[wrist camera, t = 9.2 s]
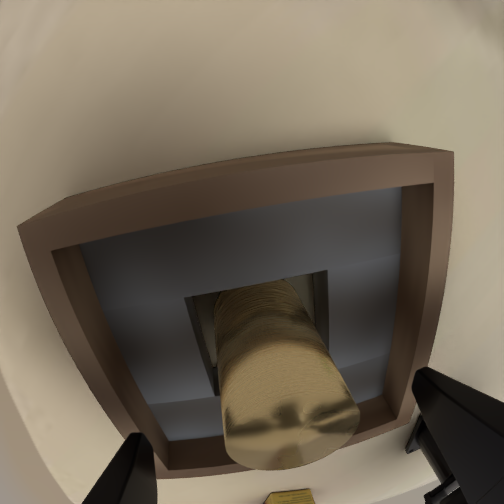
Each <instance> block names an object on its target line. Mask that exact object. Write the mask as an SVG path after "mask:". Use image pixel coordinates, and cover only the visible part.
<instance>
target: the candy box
mask: <svg viewBox="0 0 504 504" xmlns="http://www.w3.org/2000/svg"><path fill="white" fill-rule="evenodd" d="M264 504H315V502H314V500H313V497H312V494H311V491H310V489H304V490H296V491H286V492H275V493H271V494H270V496H269V497H268V498H267V500H266V501H265V503H264Z"/></svg>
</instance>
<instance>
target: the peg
mask: <svg viewBox="0 0 504 504" xmlns="http://www.w3.org/2000/svg"><path fill="white" fill-rule="evenodd" d="M214 327H215V341H216V354H217V367H218V378H219V390H220V400H221V411H222V421H223V430H224V440H225V448H226V451H227V453H228V455H229V456H230V457H231V458H232V459H233V460H234V461H235V462H237V463H239V464H240V465H243V466H245V467H248V468H252V469H258V470H285V469H291V468H296V467H300V466H304V465H307V464H310V463H313V462H315V461H317V460H320V459H322V458H324V457H326V456H328V455H329V454H331V453H333V452H334V451H336V450H337V449H339V448H340V447H341V446H342V445H343V444H345V443H346V442H347V441H348V440H349V439H350V437H351V436H352V435H353V434H354V432H355V431H356V429H357V427H358V425H359V421H360V411H359V409H358V407H357V405H356V403H355V401H354V399H353V397H352V395H351V393H350V391H349V389H348V388H347V386H346V384H345V382H344V380H343V378H342V376H341V374H340V372H339V371H338V369H337V367H336V365H335V363H334V361H333V359H332V357H331V356H330V354H329V352H328V350H327V348H326V346H325V344H324V342H323V341H322V339H321V337H320V335H319V333H318V331H317V329H316V328H315V326H314V324H313V322H312V320H311V318H310V317H309V315H308V313H307V311H306V309H305V307H304V306H303V304H302V302H301V300H300V298H299V296H298V295H297V293H296V291H295V290H294V288H293V287H292V286H291V285H290V284H289V283H288V282H286V281H285V280H283V279H280V280H275V281H270V282H265V283H260V284H255V285H249V286H244V287H239V288H234V289H229V290H223V291H222V292H221V294H220V295H219V297H218V299H217V301H216V304H215V307H214Z"/></svg>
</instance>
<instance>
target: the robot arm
mask: <svg viewBox="0 0 504 504" xmlns="http://www.w3.org/2000/svg"><path fill="white" fill-rule="evenodd" d="M411 389H412V393H413V395H414V397H415V400H416V402H417V404H418V407H419V409H420V411H421V414H422V415H421V416H420V417H419V419H418V422H417V424H416V427H415V429H414V431H413V434H412V436H411V438H410V441H409V443H408V445H407V447H406V450H405V451H406V453H407V454H409V453H412V452H414V451H416V450H418V449H421V450H422V452H423V454H424V455H425V457H426V459H427V460H428V462H429V464H430V465H431V467H432V469H433V470H434V472H435V474H436V475H437V477H438V479H439V480H440V482H441V485H439V486H438V487H436V488H435V489H434V490H432V491H431V492H428V493H426V494H425V495H424V498H425V501H426V502H425V504H504V402H501V401H499V400H497V399H495V398H493V397H491V396H488V395H486V394H484V393H482V392H480V391H478V390H476V389H473V388H471V387H469V386H467V385H465V384H463V383H461V382H459V381H457V380H454V379H452V378H450V377H448V376H446V375H444V374H442V373H440V372H438V371H436V370H434V369H432V368H429V367H423V368H420V369H418V370H416V372H415V375H414V378H413V382H412V386H411ZM459 486H460V487H459ZM457 487H459V488H457ZM456 488H457V489H456ZM455 489H456V490H455ZM453 490H454V491H453ZM452 491H453V492H452ZM450 492H452V493H450ZM449 493H450V494H449ZM448 494H449V495H448ZM82 504H157V481H156V471H155V460H154V450H153V447H152V445H151V443H150V442H149V440H148V439H147V437H146V436H145V434H144V433H142V432H133V433H130V434H129V435H128V437H127V438H126V440H125V441H124V443H123V444H122V445H121V447H120V448H119V450H118V451H117V453H116V454H115V456H114V457H113V459H112V460H111V462H110V463H109V464H108V466H107V467H106V469H105V470H104V472H103V473H102V475H101V476H100V478H99V479H98V480H97V482H96V483H95V485H94V486H93V488H92V489H91V491H90V492H89V494H88V495H87V497H86V498H85V499H84V501H83V502H82Z"/></svg>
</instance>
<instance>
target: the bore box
mask: <svg viewBox="0 0 504 504" xmlns="http://www.w3.org/2000/svg"><path fill="white" fill-rule="evenodd" d="M453 201H454V152H453V151H447V150H441V149H436V148H429V147H423V146H416V145H409V144H402V143H394V142H389V143H372V144H357V145H344V146H333V147H323V148H313V149H304V150H295V151H287V152H279V153H272V154H265V155H258V156H251V157H245V158H239V159H232V160H227V161H221V162H215V163H210V164H204V165H199V166H194V167H189V168H184V169H179V170H174V171H169V172H164V173H160V174H155V175H151V176H147V177H142V178H138V179H134V180H130V181H126V182H122V183H118V184H114V185H110V186H106V187H102V188H99V189H95V190H91V191H88V192H84V193H81V194H77V195H74V196H70V197H67V198H65V199H63V200H61V201H59V202H58V203H56V204H54V205H52V206H50V207H49V208H47V209H45V210H43V211H42V212H40V213H38V214H36V215H35V216H33V217H31V218H30V219H28V220H26V221H25V222H23V223H21V224H20V225H18V226H17V228H18V232H19V235H20V238H21V241H22V244H23V247H24V250H25V253H26V256H27V259H28V262H29V264H30V267H31V270H32V272H33V275H34V278H35V280H36V283H37V285H38V288H39V290H40V292H41V295H42V297H43V300H44V302H45V304H46V306H47V309H48V311H49V313H50V315H51V317H52V320H53V322H54V324H55V326H56V328H57V330H58V332H59V334H60V336H61V338H62V340H63V342H64V344H65V346H66V348H67V350H68V351H69V353H70V355H71V357H72V359H73V361H74V362H75V364H76V366H77V368H78V369H79V371H80V373H81V375H82V376H83V378H84V380H85V381H86V383H87V385H88V386H89V388H90V390H91V391H92V393H93V394H94V396H95V397H96V399H97V401H98V402H99V404H100V405H101V407H102V408H103V410H104V411H105V413H106V414H107V416H108V417H109V418H110V420H111V421H112V423H113V424H114V426H115V427H116V428H117V430H118V431H119V433H120V434H121V435H122V437H123V438H124V439H125V440H126V438H127V437H128V435H129V434H130V433H133V432H142V433H144V434H145V436H146V437H147V439H148V440H149V442H150V443H151V445H152V447H153V450H154V460H155V471H156V478H157V479H175V478H191V477H202V476H212V475H221V474H229V473H236V472H242V471H249V470H255V469H252V468H248V467H245V466H243V465H240V464H239V463H237V462H235V461H234V460H233V459H232V458H231V457H230V456H229V455H228V453H227V451H226V448H225V440H224V430H223V421H222V411H221V400H220V390H219V378H218V367H216V368H212V364H211V361H210V358H209V354H208V351H207V348H206V344H205V341H204V338H203V334H202V331H201V327H200V324H199V320H198V316H197V313H196V309H195V305H194V302H193V298H192V296H196V295H201V294H207V293H212V292H218V291H223V290H229V289H234V288H239V287H244V286H249V285H255V284H260V283H265V282H270V281H275V280H280V279H285V278H290V277H295V276H299V275H304V274H309V273H313V284H314V303H315V325H316V329H317V331H318V333H319V335H320V337H321V339H322V341H323V342H324V344H325V346H326V348H327V350H328V352H329V354H330V356H331V357H332V359H333V361H334V363H335V365H336V367H337V369H338V371H339V372H340V374H341V376H342V378H343V380H344V382H345V384H346V386H347V388H348V389H349V391H350V393H351V395H352V397H353V399H354V401H355V403H356V405H357V407H358V409H359V411H360V421H359V425H358V427H357V429H356V431H355V432H354V434H353V435H352V436H351V437H350V439H349V440H348V441H347V442H346V443H345V444H343V445H342V446H341V447H340V448H339V449H341V448H344V447H347V446H350V445H353V444H356V443H359V442H362V441H364V440H367V439H370V438H373V437H375V436H378V435H381V434H383V433H386V432H388V431H391V430H393V429H395V428H398V427H400V426H403V425H405V424H407V423H409V421H410V419H411V416H412V413H413V410H414V407H415V405H416V400H415V397H414V395H413V393H412V389H411V386H412V382H413V378H414V375H415V372H416V370H418V369H420V368H423V367H427V366H428V362H429V359H430V355H431V351H432V347H433V343H434V339H435V335H436V330H437V326H438V321H439V316H440V311H441V306H442V301H443V295H444V289H445V283H446V276H447V269H448V262H449V253H450V244H451V233H452V220H453Z"/></svg>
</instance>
